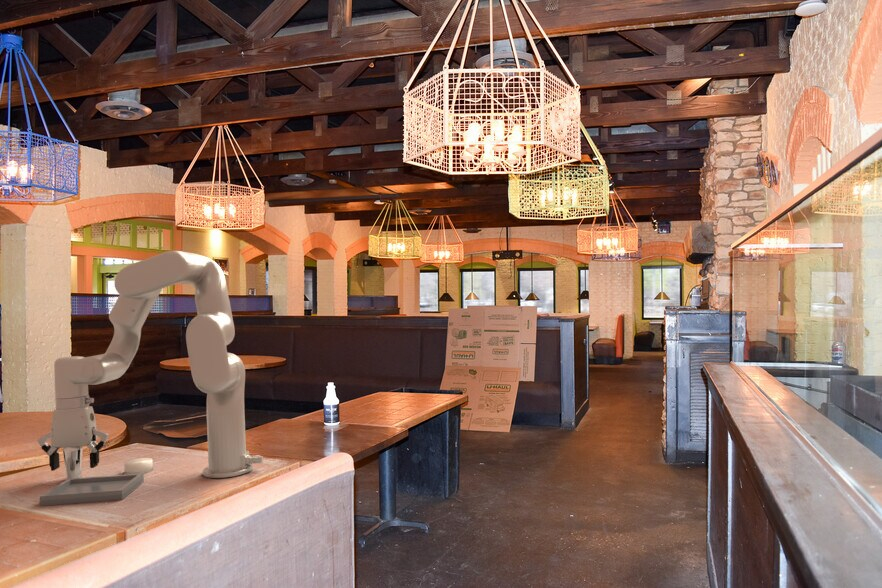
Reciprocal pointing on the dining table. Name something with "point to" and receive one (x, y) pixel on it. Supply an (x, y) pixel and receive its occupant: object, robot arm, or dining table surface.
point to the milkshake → (73, 461)
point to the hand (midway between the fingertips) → (74, 467)
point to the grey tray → (92, 489)
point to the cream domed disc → (138, 466)
